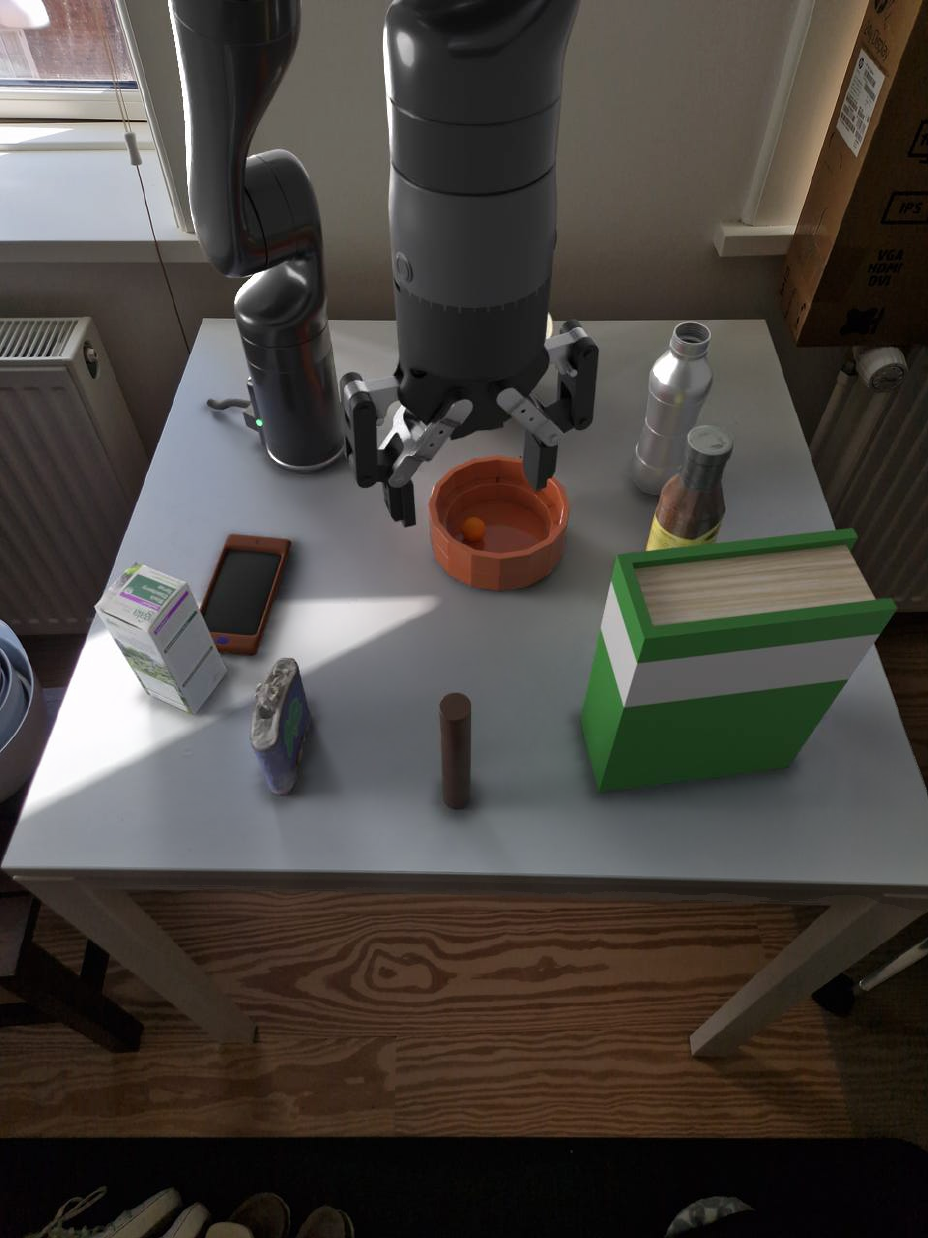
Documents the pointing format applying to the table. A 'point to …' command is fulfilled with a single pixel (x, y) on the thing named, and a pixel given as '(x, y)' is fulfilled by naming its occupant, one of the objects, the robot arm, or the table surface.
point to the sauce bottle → (693, 493)
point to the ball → (473, 529)
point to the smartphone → (243, 591)
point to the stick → (455, 749)
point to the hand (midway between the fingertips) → (470, 498)
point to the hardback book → (724, 656)
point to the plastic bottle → (672, 407)
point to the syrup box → (162, 636)
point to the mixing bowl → (497, 524)
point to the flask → (280, 725)
